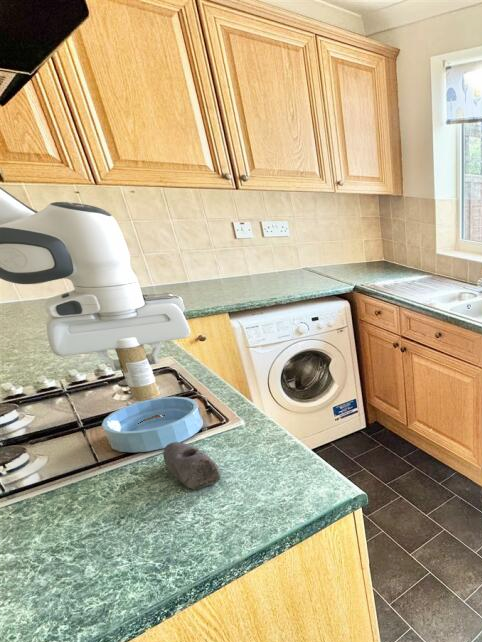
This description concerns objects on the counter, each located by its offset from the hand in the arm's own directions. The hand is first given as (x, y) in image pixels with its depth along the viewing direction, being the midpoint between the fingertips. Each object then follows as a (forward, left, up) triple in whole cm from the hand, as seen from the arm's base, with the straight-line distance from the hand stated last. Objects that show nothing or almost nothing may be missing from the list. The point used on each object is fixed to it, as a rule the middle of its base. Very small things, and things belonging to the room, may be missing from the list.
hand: (135, 366), depth 83 cm
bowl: (0, 0, -16) cm, 16 cm away
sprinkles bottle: (0, 0, -7) cm, 7 cm away
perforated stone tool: (+12, -17, -16) cm, 27 cm away
